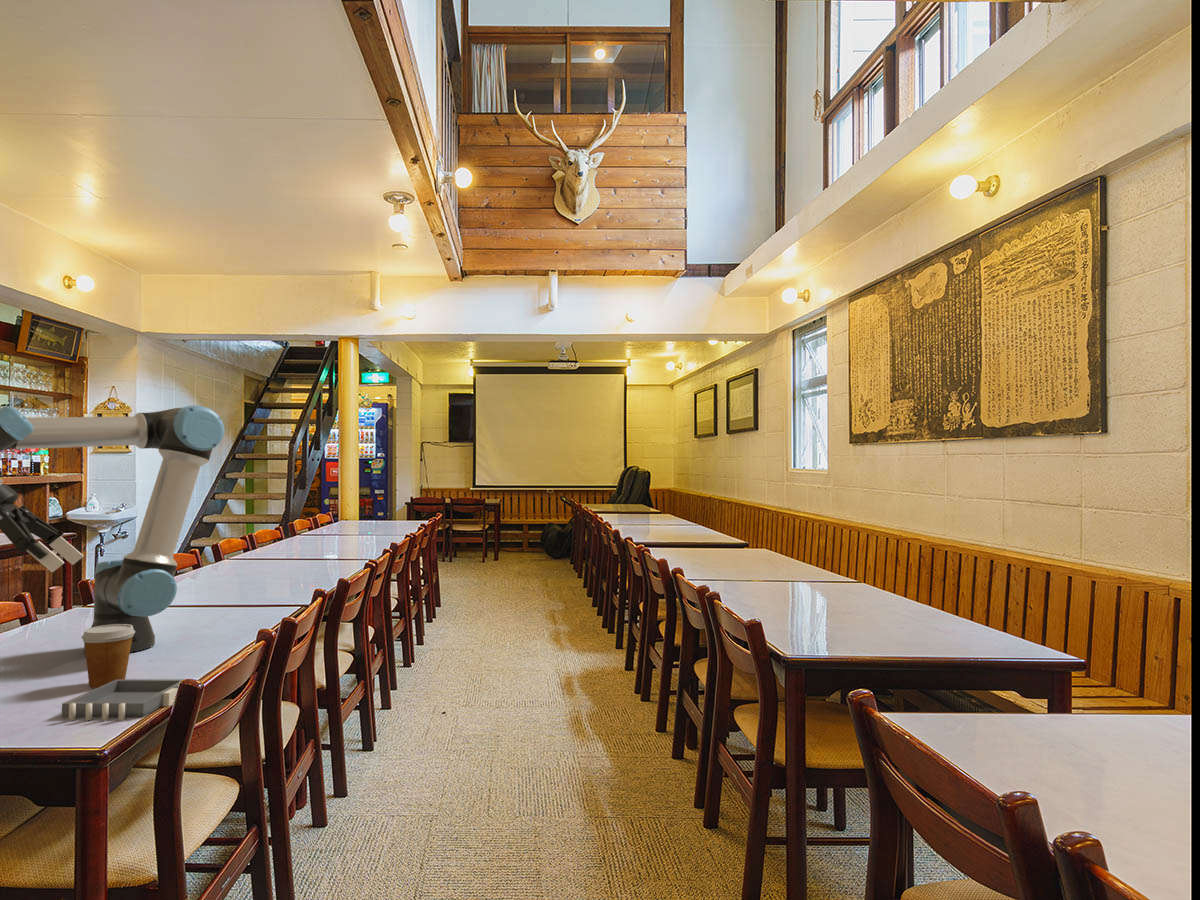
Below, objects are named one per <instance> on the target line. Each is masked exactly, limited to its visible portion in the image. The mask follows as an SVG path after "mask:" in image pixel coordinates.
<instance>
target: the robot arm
mask: <svg viewBox="0 0 1200 900" xmlns="http://www.w3.org/2000/svg"><path fill="white" fill-rule="evenodd" d="M224 435H225V425H224V422H223V420H222V419H221V417H220V416H219V414H218V413H216V411H214V410H213V409H211V408H209V407H206V406H202V405H187V406H182V407H174V408H169V409H165V410H159V411H153V412H152V411H150V412H137V413H135V414H134V416H74V417H73V416H72V417H71V416H67V417H65V416H59V417H56V416H55V417H48V416H47V417H46V416H45V417H42V416H41V417H26V416H25V415H24V414H23V413H22V412H21V411H19V409H17V408H15V407H14V406H10V405H6V406H4V407H2V408H0V453H1V452H3V451H4V450H5V451H7V450H9V451H10V450H29V449H30V450H32V449H36V450H37V449H61V448H62V449H63V448H64V449H65V448H88V447H91V448H92V447H115V446H116V447H117V446H118V447H119V446H121V447H122V446H136V447H137V448H138V449H140V450H141V449H143V450H144V449H156V450H157V449H158V452H159V454H160V456H161V457H162V461H161V464H160V467H159V470H158V473H157V476H156V479H155V483H154V486H153V489H152V492H151V495H150V499H149V501H148V504H147V508H146V511H145V513H144V517H143V521H142V524H141V525H140V529H139V532H138V536H137V539H136V542H135V547H134V548H133V550H132V551H131V552H130V553H128V554H126V555H124V557H123V558H122V559H119V560H118V559H116V560H106V561H101V562H98V563H97V564H96V566H95V571H94V575H93V577H94V593H93V594H94V595H93V596H94V600H93V620H92V621H93V622H92V624H91V627H90V628H92V627H97V626H103V625H112V624H129V625H132V626H133V629H134V631H135V633H134V636H133V637H132V643H131V649H130V652H131V653H134V652H133V651H137V652H140V651H139V650H141V651H144V650H143V649H145V650H147V649H146V648H148V649H150V648H152V647H154V646H155V645H156V644H155V643H156V636H155V633H154V630H153V627H152V625H151V624H152V623H151V620H150V618H149V617H152V616H155V615H158V614H160V613H162V612H163V611H165V610H167V609H168V607H169V606H171V604H172V603H173V602H174V600H175V598H176V595H177V591H178V586H177V582H176V579H175V575H176V572H177V569H178V563H177V561H176V560H175V559H174V554H175V552H176V551H175V550H176V548H177V546H178V545H177V544H178V541H179V538H180V534H181V531H182V528H183V525H184V521H185V518H186V514H187V512H188V509H189V505H190V503H191V498H192V495H193V492H194V489H195V485H196V482H197V478H198V474H199V472H200V469H201V467H202V466H205V465H206V464H207V463H209V462H210V459H211V456H212V452H213V449H215V448H216V447H217V446H218V445H219V444H220V443H221V442H222V441H223V438H224ZM18 498H19V493H17V492H16V491H15V489H13V488H12V487H11V486H9V485H8V484H5V483H4V481H3V479H1V478H0V530H1V532H3V534H4V536H6V538H7V539H8V540H9V541H10V542H11V543H12V544H13V546H14V547H15V548H16V550H17V551H18V552H19V553H20V554H23V553H24V552H25V551H26V553H28V554H29V555H30V556H31V557H33V558H34V559H35V560H37V561H38V562H39V563H40V564H41V565H42V566H43V567H44V568H45V569H47V570H48V571H50V572H51V573H55V571H57V570H58V569H60V567H62V565H64V564H65V562H64V560H62V559H61V557H62V558H63V559H65V560H66V561H67V562H68V563H69V564H71V565H72V566H74V565H75V564H76V563H78V562H79V561H80V560H81V559H83V558H84V557H85V555H84V554H83V553H81V552H80V551H79V550H78V549H77V548H75V547H74V546H73V545H72V544H71V543H70V542H68V541H67V540H66V539H65V538H64V537H63V535H65V533H64V532H63V531H62V530H58V529H57V528H55V527H54V526H52V525H50V523H48V522H46V520H43V519H41V517H39V516H37V515H36V514H34V512H31V511H30V510H29V509H28V508H27V507H26V506H24V505H21V506H20V507H18V506H17V505H15V504H14V503H15V502H17V500H18ZM33 535H34V536H36V537H38V538H39V539H41V540H42V541H45V542H46V543H48V545H49V546H50V548H52V549H53V550H54V552H53V551H52V550H50V549H49V548H48V547H47V546H46V545H45V544H43V543H42V542H41V541H40V540H39V541H37V540H36V538H35V537H34V536H33ZM55 552H57V553H58V555H60V556H61V557H59V556H58V555H56V554H55ZM154 644H155V645H154ZM153 645H154V646H153ZM151 646H152V647H151ZM149 647H150V648H149ZM83 653H84V654H85V646H84V645H83Z"/></svg>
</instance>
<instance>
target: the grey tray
mask: <svg viewBox="0 0 1200 900" xmlns="http://www.w3.org/2000/svg"><path fill="white" fill-rule="evenodd" d="M185 679H186V678H185ZM185 679H184V678H182V679H180V678H179V679H175V678H174V679H171V678H169V679H167V678H166V679H165V678H164V679H162V678H161V679H159V678H158V679H157V678H155V679H154V678H153V679H152V678H151V679H149V678H145V679H144V678H143V679H137V678H136V679H135V678H134V679H129V678H125V679H116V680H114V681H112V682H109V683H107V684H105V685H103V686H100V687H98V688H93V689H92V690H89V691H87V692H85V693H82V694H81V695H78V696H76V697H74V698H71V699H69V700H66V701H65V702H62V703H61V718H62V717H69V718H68V722H73V721H72V720H75V721H76V718H75V717H85V718H84V721H85V720H86V721H85V722H89V721H88V720H91V721H92V720H93V718H101V722H106V721H105V720H107V721H109V718H117V721H118V722H123V720H124V721H125V720H126V718H145V717H146V716H148V715H150V714H151V713H153V711H154V712H156V711H157V710H159V709H161V708H162V707H161V706H163V707H170V706H172V705H174V704H173V701H174V698H175V696H176V693H177V690H178V685H179V682H180V681H181V680H185ZM160 707H161V708H160ZM158 708H159V709H158ZM156 709H157V710H156Z"/></svg>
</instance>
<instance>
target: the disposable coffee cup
mask: <svg viewBox="0 0 1200 900" xmlns="http://www.w3.org/2000/svg"><path fill="white" fill-rule="evenodd" d="M134 633H135V631H134V629H133V626H132V625H129V624H112V625H103V626H97V627H92V628H91V627H89V628H87V629H84V632H83V634H82V636H81V639H82V642H83V643H84V644H83V647H84V646H85V653H86V654H85V653H84V654H85V660H86V669H87V678H88V685H89V686H88V687H89V688H91V689H96V688H98V687H100V686H103V685H105V684H107V683H109V682H112V681H114V680H116V679H126V678H127V677H126V675H127V671H128V665H129V659H130V654H131V653H130V649H131V643H132V637H133V636H134Z"/></svg>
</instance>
